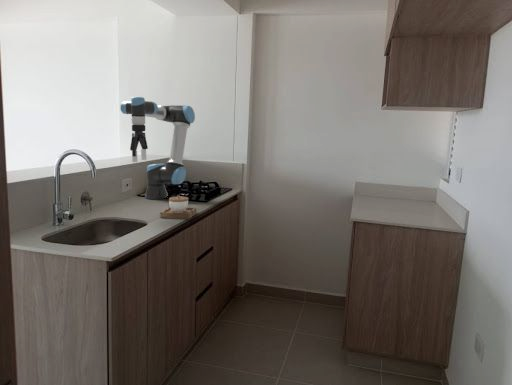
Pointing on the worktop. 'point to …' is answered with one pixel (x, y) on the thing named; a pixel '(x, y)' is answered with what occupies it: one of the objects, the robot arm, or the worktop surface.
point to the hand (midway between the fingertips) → (139, 161)
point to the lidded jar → (178, 204)
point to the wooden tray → (184, 215)
